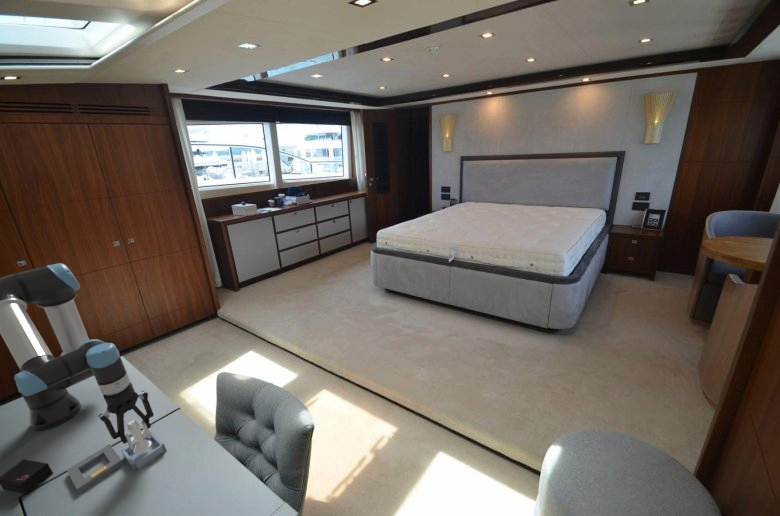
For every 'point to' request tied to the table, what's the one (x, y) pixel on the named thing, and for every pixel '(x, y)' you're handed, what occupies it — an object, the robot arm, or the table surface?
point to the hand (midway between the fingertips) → (140, 441)
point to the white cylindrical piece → (138, 438)
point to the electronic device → (25, 476)
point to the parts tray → (144, 453)
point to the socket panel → (99, 474)
